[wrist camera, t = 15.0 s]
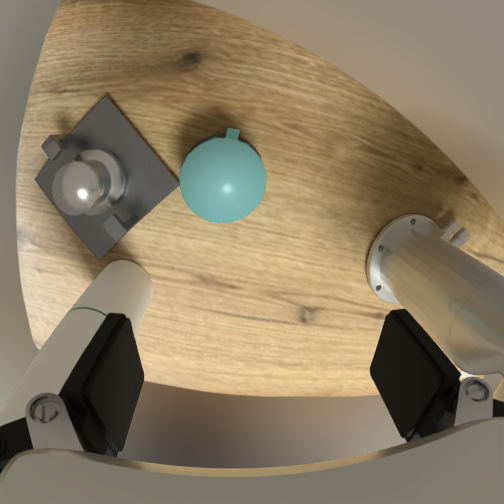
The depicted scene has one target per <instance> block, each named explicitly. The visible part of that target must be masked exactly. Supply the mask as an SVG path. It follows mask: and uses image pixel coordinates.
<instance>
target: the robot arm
mask: <svg viewBox="0 0 504 504" xmlns="http://www.w3.org/2000/svg"><path fill="white" fill-rule="evenodd" d="M458 228H459V224H458V222H457V221H456V220H454V219H453V220H452V221H451V222H450V223H448V224H447V226H446V227H445V228H444V229H442V228H441V229H439V227H438V226H437V225H436V224H435V222H434V221H432V220H431V219H429V218H427V217H425V216H423V215H419V214H406V215H403V216H400V217H398V218H396V219H394V220H393V221H391V222H390V223H389V224H388V225H386V226H385V227H384V229H383V230H382V231H381V232H380V233H379V235H378V236H377V238H376V239H375V241H374V243H373V245H372V247H371V249H370V252H369V255H368V259H367V267H366V271H367V279H368V283H369V285H370V287H371V289H372V291H373V292H374V293H375V294H376V296H378V297H379V298H380V299H381V300H382V301H384V302H386V303H390V304H401V305H402V306H403V307H404V308H405V309H397V310H392V311H391V312H390V313H389V314H388V315H387V316H386V318H385V321H384V325H383V328H382V332H381V335H380V338H379V342H378V345H377V348H376V351H375V354H374V357H373V360H372V363H371V366H370V375H371V377H372V379H373V381H374V383H375V385H376V387H377V389H378V391H379V393H380V395H381V397H382V399H383V401H384V403H385V405H386V407H387V409H388V411H389V413H390V415H391V417H392V419H393V421H394V423H395V425H396V427H397V429H398V431H399V433H400V435H401V437H403V438H405V439H406V441H407V443H404V444H401V445H398V446H394V447H391V448H387V449H383V450H379V451H375V452H372V453H367V454H363V455H358V456H353V457H348V458H343V459H338V460H332V461H326V462H319V463H312V464H304V465H296V466H285V467H271V468H251V469H250V468H249V469H215V468H193V467H181V466H170V465H162V464H154V463H146V462H140V461H133V460H127V459H121V458H116V457H117V454H118V451H122V450H123V448H124V444H125V441H126V437H127V434H128V430H129V427H130V423H131V420H132V417H133V413H134V410H135V407H136V404H137V401H138V398H139V394H140V391H141V388H142V385H143V382H144V372H143V368H142V364H141V361H140V357H139V353H138V349H137V345H136V341H135V337H134V333H133V328H132V324H131V320H130V318H126V315H125V314H123V313H109V314H108V315H107V316H106V318H105V319H104V321H103V322H102V324H101V325H100V327H99V328H98V330H97V331H96V333H95V335H94V336H93V338H92V339H91V341H90V342H89V344H88V346H87V347H86V348H85V350H84V351H83V353H82V355H81V356H80V358H79V360H78V361H77V363H76V365H75V366H74V368H73V370H72V371H71V373H70V375H69V377H68V378H67V380H66V382H65V383H64V385H63V387H62V389H61V391H60V392H59V394H58V395H56V394H54V393H41V394H39V395H36V396H34V397H33V398H32V399H31V400H30V401H29V402H28V404H27V406H26V409H25V415H26V417H23V418H20V419H18V420H15V421H12V422H10V423H7V424H4V425H2V426H0V504H504V276H502V275H500V274H499V273H497V272H496V271H494V270H493V269H491V268H490V267H488V266H486V265H485V264H483V263H482V262H480V261H479V260H477V259H475V258H474V257H472V256H470V255H469V254H467V253H465V252H464V251H462V250H460V249H459V247H460V246H462V245H463V244H464V243H466V242H467V241H468V240H469V238H470V234H469V232H468V231H467V230H466V229H465V228H463V227H462V228H461V229H460V230H459V231H458V232H457V233H456V234H454V235H453V237H452V238H451V239H450V240H449V236H450V235H451V234H452V233H454V232H455V231H456V230H457V229H458ZM422 327H423V328H424V329H423V328H422ZM428 334H429V335H430V336H431V337H432V338H431V337H430V336H429V335H428ZM434 341H435V342H436V343H437V344H438V345H439V346H440V348H441V349H442V350H443V351H444V352H445V353H446V355H447V356H448V357H449V358H450V359H451V360H452V361H453V362H454V364H455V365H456V366H457V367H458V368H460V369H461V370H462V371H464V372H466V373H468V374H472V375H489V374H497V373H498V374H501V375H502V381H501V383H500V385H499V386H498V388H497V389H496V391H495V392H494V394H493V393H492V389H491V387H490V386H489V385H488V384H487V383H486V382H485V381H483V380H482V379H480V378H477V377H468V378H465V379H464V380H463V381H462V382H460V381H459V378H460V376H461V373H460V372H459V371H458V370H457V368H456V367H455V366H454V365H453V363H452V362H451V361H450V360H449V358H448V357H447V356H446V355H445V354H444V352H443V351H442V350H441V349H440V348H439V346H438V345H437V344H436V343H435V342H434Z"/></svg>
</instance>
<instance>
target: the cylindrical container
mask: <svg viewBox="0 0 504 504" xmlns="http://www.w3.org/2000/svg"><path fill="white" fill-rule="evenodd" d="M152 297H153V284H152V281H151V279H150V277H149V275H148V274H147V272H146V271H145V270H144V269H143V268H142V267H140V266H139V265H137V264H136V263H133V262H131V261H127V260H116V261H113V262H111V263H109V264H108V265H107V266H106V267H105V268H104V269H103V270H102V271H101V273H100V274H99V275H98V276H97V277H96V278H95V280H94V281H93V282H92V283H91V284H90V286H89V287H88V288H87V289H86V290H85V292H84V293H83V294H82V295H81V297H80V298H79V299H78V300H77V302H76V303H75V304H74V305H73V307H72V308H71V309H70V310H69V312H68V313H67V314H66V316H65V317H64V318H63V319H62V321H61V322H60V323H59V325H58V326H57V327H56V329H55V330H54V331H53V333H52V334H51V336H50V337H49V338H48V340H47V341H46V343H45V344H44V345H43V347H42V348H41V350H40V351H39V353H38V354H37V356H36V357H35V358H34V360H33V362H32V363H31V364H30V366H29V367H28V369H27V370H26V372H25V374H24V375H23V377H22V378H21V380H20V381H19V383H18V385H17V386H16V388H15V390H14V391H13V393H12V394H11V396H10V398H9V400H8V401H7V403H6V405H5V406H4V408H3V410H2V412H1V413H0V426H2V425H4V424H7V423H10V422H12V421H15V420H18V419H20V418H23V417H26V415H25V409H26V406H27V404H28V402H29V401H30V400H31V399H32V398H33V397H34V396H36V395H39V394H41V393H54V394H56V395H58V394H59V392H60V391H61V389H62V387H63V385H64V383H65V382H66V380H67V378H68V377H69V375H70V373H71V371H72V370H73V368H74V366H75V365H76V363H77V361H78V360H79V358H80V356H81V355H82V353H83V351H84V350H85V348H86V347H87V346H88V344H89V342H90V341H91V339H92V338H93V336H94V335H95V333H96V331H97V330H98V328H99V327H100V325H101V324H102V322H103V321H104V319H105V318H106V316H107V315H108V314H109V313H123V314H125V315H126V318H130V320H131V324H132V328H133V333H134V337H135V339H136V336H137V334H138V331H139V329H140V326H141V324H142V321H143V319H144V316H145V314H146V312H147V309H148V307H149V305H150V302H151V300H152Z"/></svg>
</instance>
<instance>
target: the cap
mask: <svg viewBox="0 0 504 504" xmlns="http://www.w3.org/2000/svg"><path fill="white" fill-rule="evenodd" d="M239 132H240V130H237V129H232V128H228V129H227V133H226V138H218V137H216V138H212V139H211V140H209V141H206V142H204V143H202V144H200V145H199V146H197V147H196V148H195V149H194V150H193V151H192V152H191V153H190V154H188V155H187V157H186V159H185V161H184V163H183V166H182V169H181V172H180V189H181V193H182V196H183V198H184V200H185V202H186V204H187V205H188V207H189V208H190V209H191V210H192V211H193V212H194V213H195V214H197V215H198V216H200V217H201V218H203V219H206V220H208V221H209V222H214V223H219V224H220V223H228V222H233V221H237V220H239V219H242V218H244V217H245V216H247V215H248V214H250V213H251V212H252V211H253V210H254V209H255V208H256V207H257V206H258V204H259V203H260V201H261V199H262V197H263V195H264V192H265V188H266V172H265V171H266V170H265V168H264V165H263V163H262V161H261V159H260V157H259V156H258V155H257V153H256V152H255V151H254V150H253V149H252V148H251V147H250V145H247V143H243V142H240V141H238V137H239Z"/></svg>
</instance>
